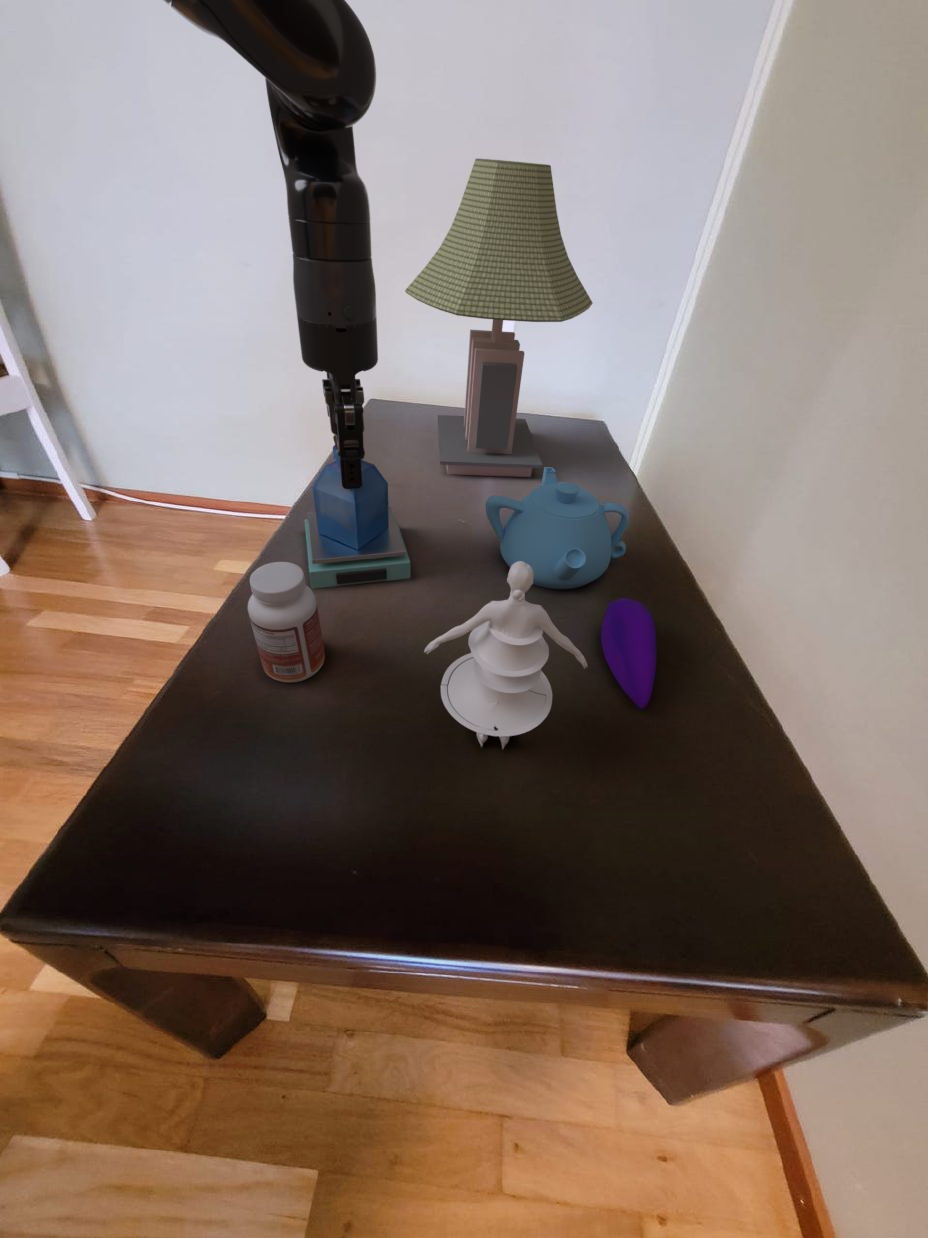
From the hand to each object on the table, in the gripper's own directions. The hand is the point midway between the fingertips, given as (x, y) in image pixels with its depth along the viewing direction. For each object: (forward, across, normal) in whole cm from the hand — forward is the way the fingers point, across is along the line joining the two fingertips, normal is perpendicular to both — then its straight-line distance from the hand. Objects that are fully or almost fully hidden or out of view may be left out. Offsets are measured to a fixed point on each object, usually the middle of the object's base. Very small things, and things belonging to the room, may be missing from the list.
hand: (349, 473), depth 63 cm
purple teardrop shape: (+12, +25, +26) cm, 38 cm away
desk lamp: (+12, -28, +26) cm, 40 cm away
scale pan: (+8, 0, 0) cm, 8 cm away
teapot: (+12, +6, +25) cm, 28 cm away
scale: (+12, 0, 0) cm, 12 cm away
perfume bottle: (+8, 0, 0) cm, 8 cm away
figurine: (+12, +31, +9) cm, 34 cm away
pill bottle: (+12, +18, -8) cm, 23 cm away
